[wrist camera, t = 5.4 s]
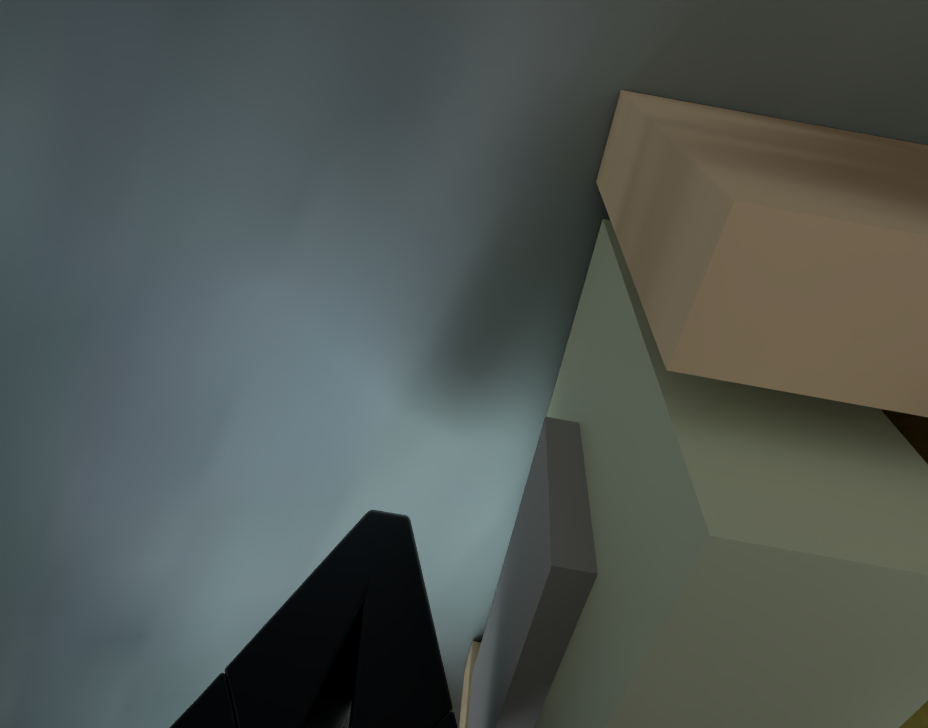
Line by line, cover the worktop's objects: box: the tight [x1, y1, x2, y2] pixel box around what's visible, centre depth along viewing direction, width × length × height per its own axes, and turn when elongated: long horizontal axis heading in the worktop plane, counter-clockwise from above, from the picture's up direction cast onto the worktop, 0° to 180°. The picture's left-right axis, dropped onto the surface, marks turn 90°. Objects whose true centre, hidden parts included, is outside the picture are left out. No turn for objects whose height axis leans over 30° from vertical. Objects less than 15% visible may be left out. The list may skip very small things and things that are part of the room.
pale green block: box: [468, 219, 928, 728], centre depth 9 cm, size 2×10×6 cm, turn 171°
